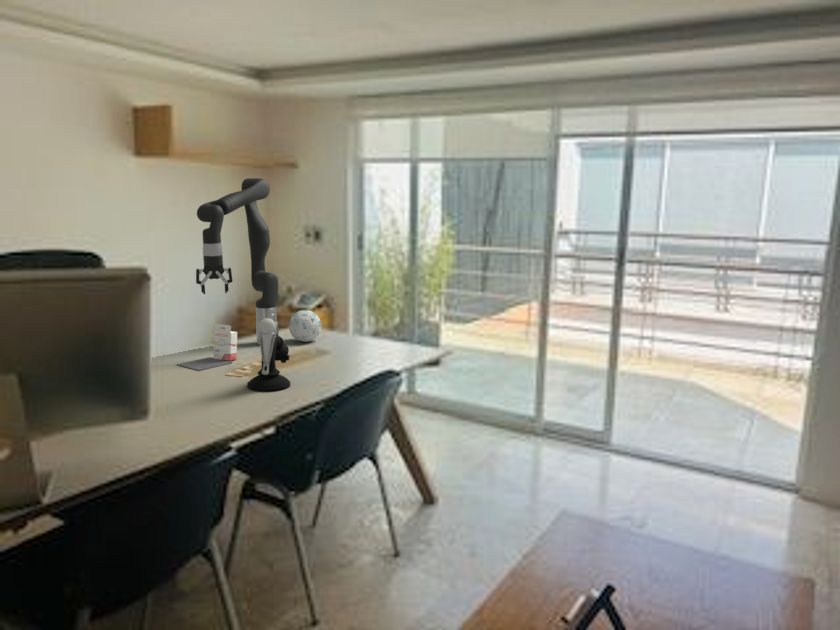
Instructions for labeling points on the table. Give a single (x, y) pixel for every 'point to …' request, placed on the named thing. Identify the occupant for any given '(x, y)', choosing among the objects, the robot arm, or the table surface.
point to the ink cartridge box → (224, 343)
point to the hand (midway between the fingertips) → (215, 293)
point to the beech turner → (244, 370)
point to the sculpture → (270, 360)
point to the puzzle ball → (305, 326)
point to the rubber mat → (204, 363)
